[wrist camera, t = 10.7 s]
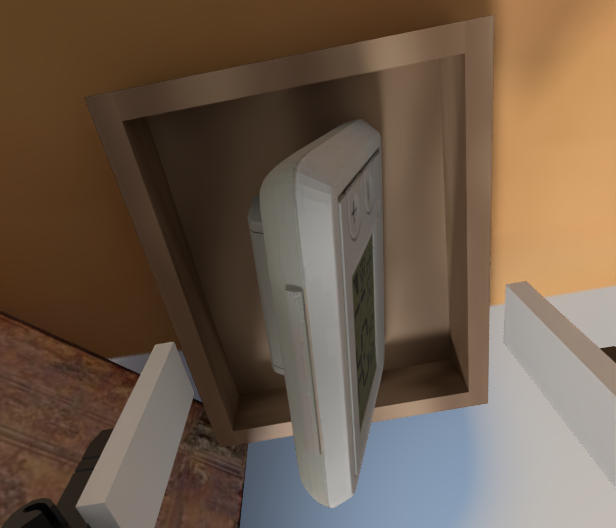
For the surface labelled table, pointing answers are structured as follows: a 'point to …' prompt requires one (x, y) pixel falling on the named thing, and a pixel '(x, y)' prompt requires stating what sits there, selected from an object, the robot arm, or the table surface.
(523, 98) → the table surface
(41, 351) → the book
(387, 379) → the brown rectangular tray
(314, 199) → the digital clock
